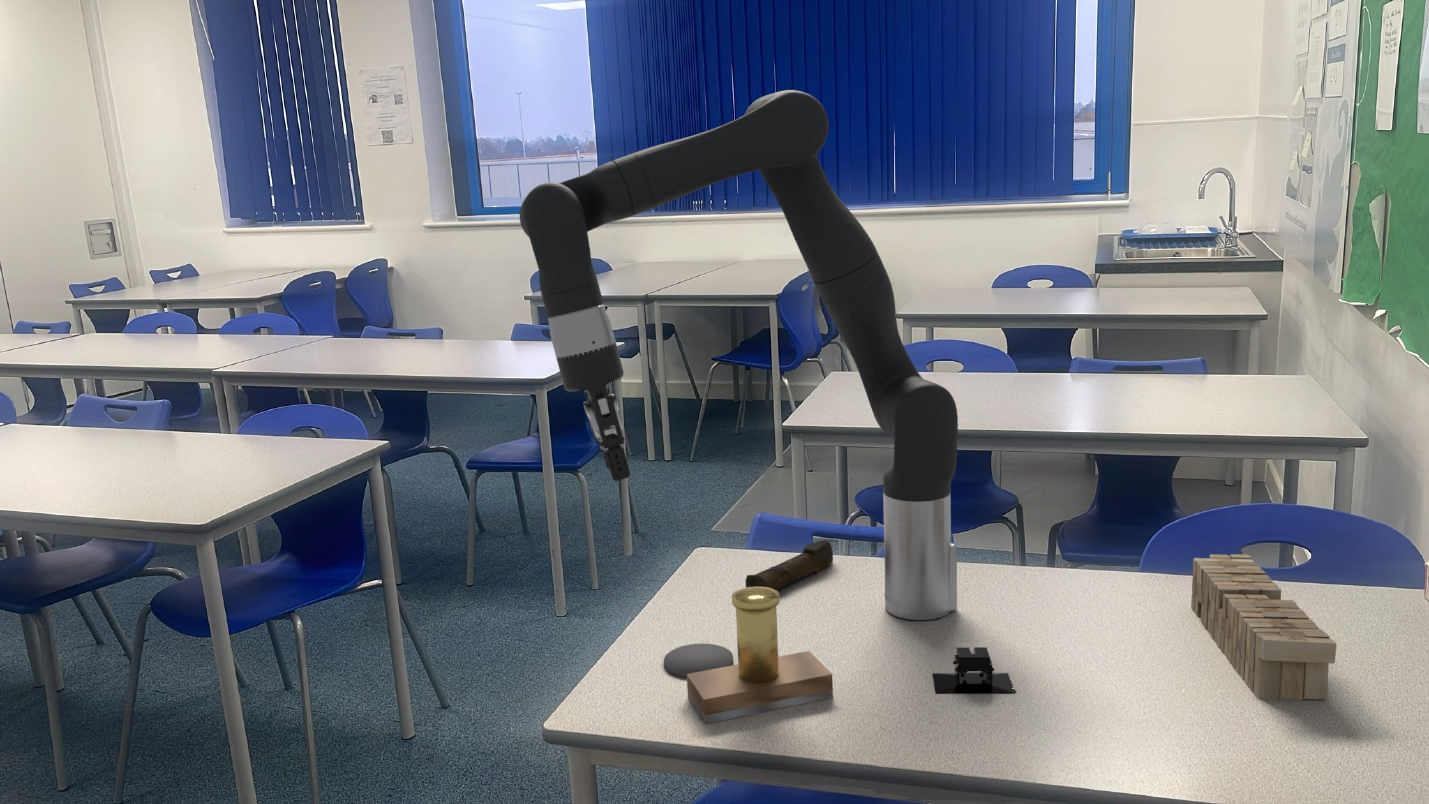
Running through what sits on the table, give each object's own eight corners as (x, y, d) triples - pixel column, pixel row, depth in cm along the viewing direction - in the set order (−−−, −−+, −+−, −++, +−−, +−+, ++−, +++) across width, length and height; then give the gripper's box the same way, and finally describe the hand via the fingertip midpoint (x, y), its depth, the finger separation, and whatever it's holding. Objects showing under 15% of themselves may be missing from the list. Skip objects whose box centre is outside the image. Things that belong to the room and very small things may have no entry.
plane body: (809, 673, 134) (809, 650, 133) (832, 697, 127) (832, 674, 127) (687, 697, 129) (686, 674, 129) (705, 723, 123) (704, 699, 122)
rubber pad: (720, 643, 144) (720, 638, 144) (742, 670, 135) (742, 666, 135) (656, 654, 141) (655, 650, 141) (674, 683, 133) (674, 679, 133)
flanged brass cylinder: (772, 660, 131) (769, 583, 129) (789, 679, 126) (786, 600, 124) (729, 668, 129) (725, 591, 127) (744, 688, 124) (740, 607, 122)
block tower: (1187, 611, 149) (1258, 706, 121) (1189, 554, 148) (1261, 635, 119) (1247, 612, 148) (1333, 708, 120) (1250, 554, 146) (1337, 636, 118)
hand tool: (763, 604, 157) (762, 574, 156) (744, 597, 160) (743, 568, 159) (846, 568, 170) (846, 540, 169) (827, 562, 172) (826, 535, 172)
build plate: (1020, 674, 132) (1020, 639, 131) (1031, 702, 125) (1032, 665, 124) (918, 674, 133) (918, 640, 132) (924, 702, 126) (923, 666, 125)
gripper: (620, 342, 124) (654, 474, 126) (610, 337, 138) (641, 456, 140) (557, 358, 123) (593, 492, 125) (553, 351, 137) (585, 471, 139)
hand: (618, 473), depth 133 cm, fingers open, 8 cm apart
